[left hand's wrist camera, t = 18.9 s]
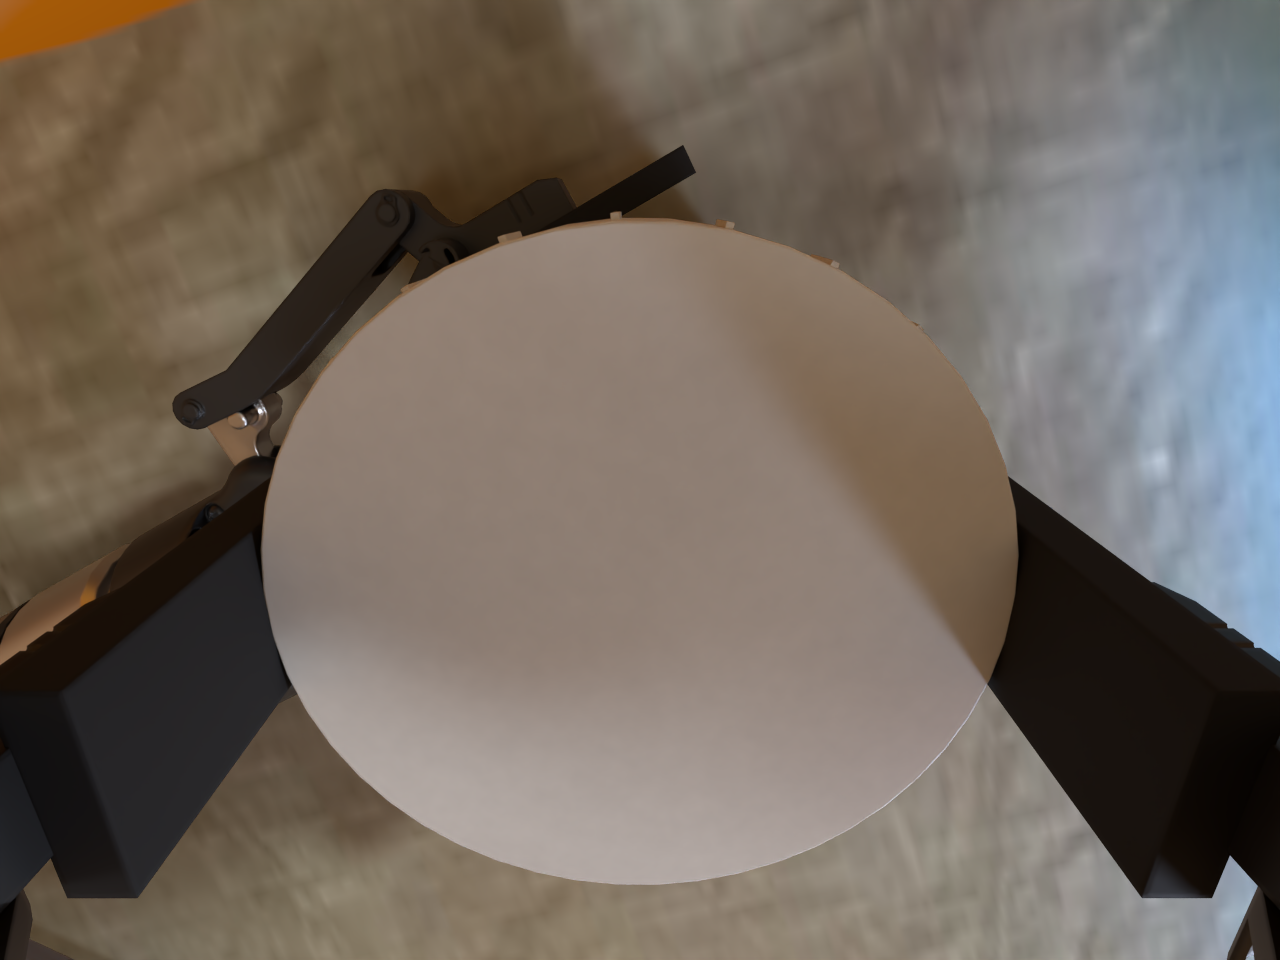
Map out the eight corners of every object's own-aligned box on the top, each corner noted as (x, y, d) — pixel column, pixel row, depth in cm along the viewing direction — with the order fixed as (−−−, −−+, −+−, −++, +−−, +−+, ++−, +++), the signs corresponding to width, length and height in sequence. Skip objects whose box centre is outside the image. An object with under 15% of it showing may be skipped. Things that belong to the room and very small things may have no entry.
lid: (708, 885, 15) (717, 970, 13) (207, 633, 12) (142, 698, 11) (1110, 481, 11) (1189, 527, 10) (528, 37, 9) (503, 1, 7)
